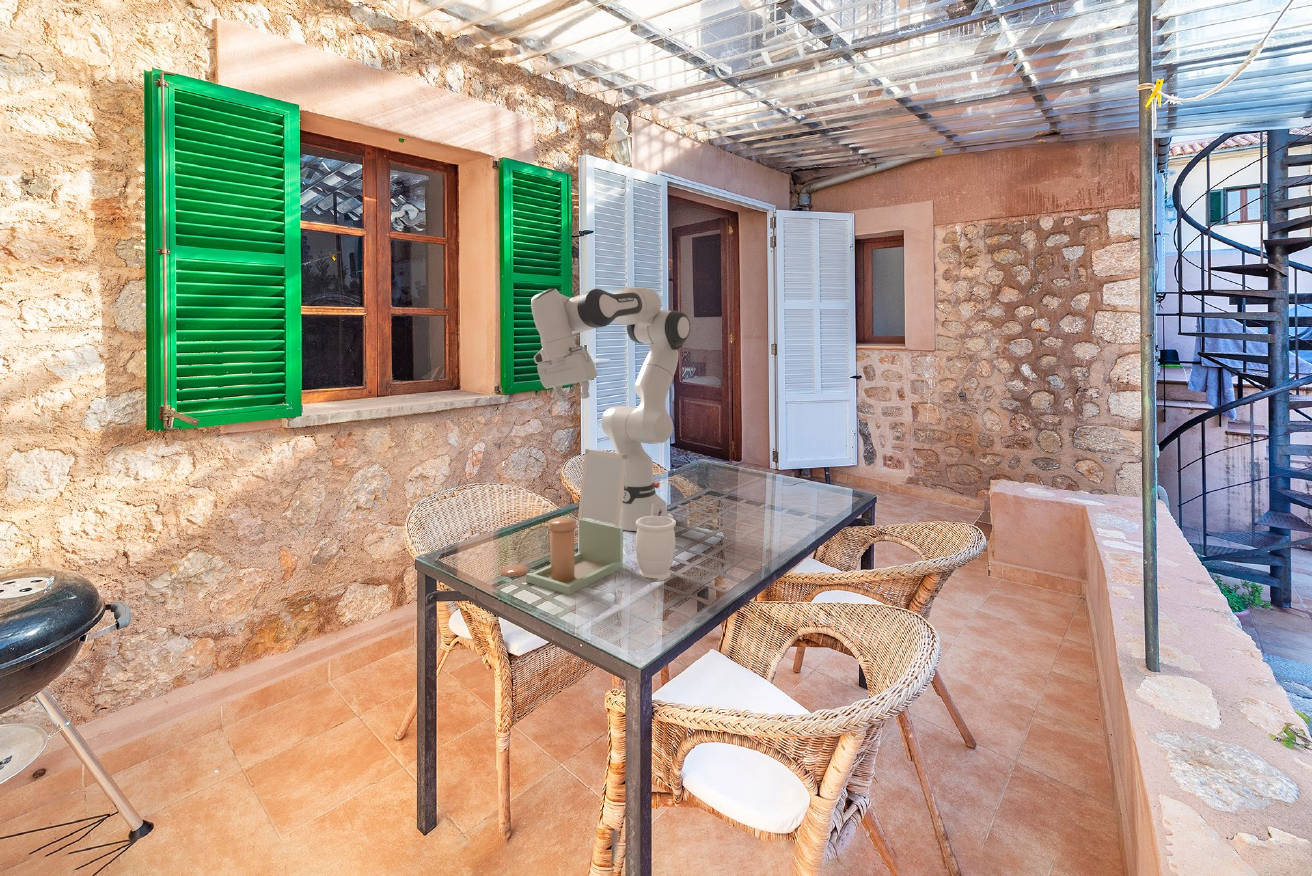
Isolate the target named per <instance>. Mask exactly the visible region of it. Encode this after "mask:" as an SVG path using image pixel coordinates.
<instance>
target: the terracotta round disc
mask: <svg viewBox="0 0 1312 876" xmlns="http://www.w3.org/2000/svg"><path fill="white" fill-rule="evenodd" d="M527 573H530V567H528V566H526V565H524V564H522V565H521V564H510V565H505V566H503V567H501V568H500V569H499V574H500V575H501V576H503V577H509V578H511V577H513V578H514V577H521V576H524V575H526V574H527Z"/></svg>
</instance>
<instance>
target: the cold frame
mask: <svg viewBox="0 0 1312 876" xmlns="http://www.w3.org/2000/svg"><path fill="white" fill-rule="evenodd" d="M623 545H624V530H623V528H622V527H616V526H614V525H613V524H610V523H605V522H601V521H599V522H598V521H596V520H592V519H590V520H589V519H587V518H583V519H580V518H578V552H577V553H574V563H575V578H574V580H572V581H570V582H566V583H563V582H559V581H556V580H552V579H551V564H550V565H548V566H545V567H543V568H541V569H539V570H536V571H534V572H528V573H527V574H525V583H528V584H532V585H535V586H539V587H541V588H544V589H549V590H551V591H555V592H557V593H561V594H565V595H567V596H570V595H572V594H574V593H576V592H578V591H580V590H581V589H583V588H585V587H587V586H589V585H591V584H593V583H596V582H597V581H599V580H601V579H603V578H604V577H607V576H609V575H610V574H613V573H615V572H617V571H618V570H621V569H622V568H623V566H624V565H623V564H624V562H623V559H624V554H623V553H624V550H623V549H624V547H623Z"/></svg>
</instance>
